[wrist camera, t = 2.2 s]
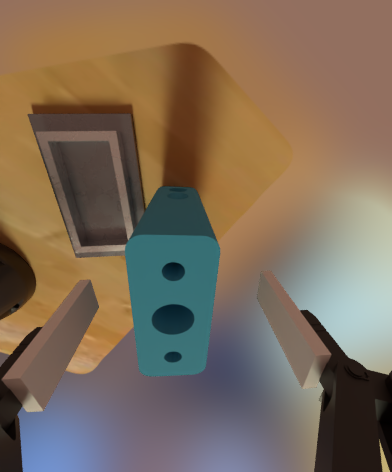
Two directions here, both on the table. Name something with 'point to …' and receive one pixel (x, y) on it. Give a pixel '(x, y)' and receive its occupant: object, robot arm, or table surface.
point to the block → (172, 283)
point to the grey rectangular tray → (93, 178)
